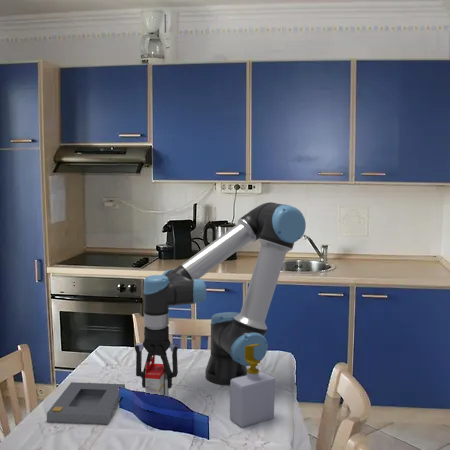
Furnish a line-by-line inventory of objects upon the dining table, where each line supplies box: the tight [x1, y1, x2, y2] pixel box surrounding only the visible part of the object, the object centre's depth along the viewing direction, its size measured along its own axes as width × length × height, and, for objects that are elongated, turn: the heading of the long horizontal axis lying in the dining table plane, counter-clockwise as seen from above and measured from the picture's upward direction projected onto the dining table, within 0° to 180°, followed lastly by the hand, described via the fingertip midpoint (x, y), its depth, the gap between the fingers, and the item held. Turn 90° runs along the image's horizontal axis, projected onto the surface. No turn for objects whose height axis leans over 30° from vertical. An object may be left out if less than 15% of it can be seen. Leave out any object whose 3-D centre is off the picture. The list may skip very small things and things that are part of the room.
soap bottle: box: [229, 344, 276, 428], centre depth 163 cm, size 12×7×23 cm, turn 123°
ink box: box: [145, 355, 167, 395], centre depth 171 cm, size 8×5×15 cm, turn 169°
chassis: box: [46, 382, 126, 425], centre depth 171 cm, size 18×22×3 cm
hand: (157, 397), depth 172 cm, fingers closed on ink box, 5 cm apart
